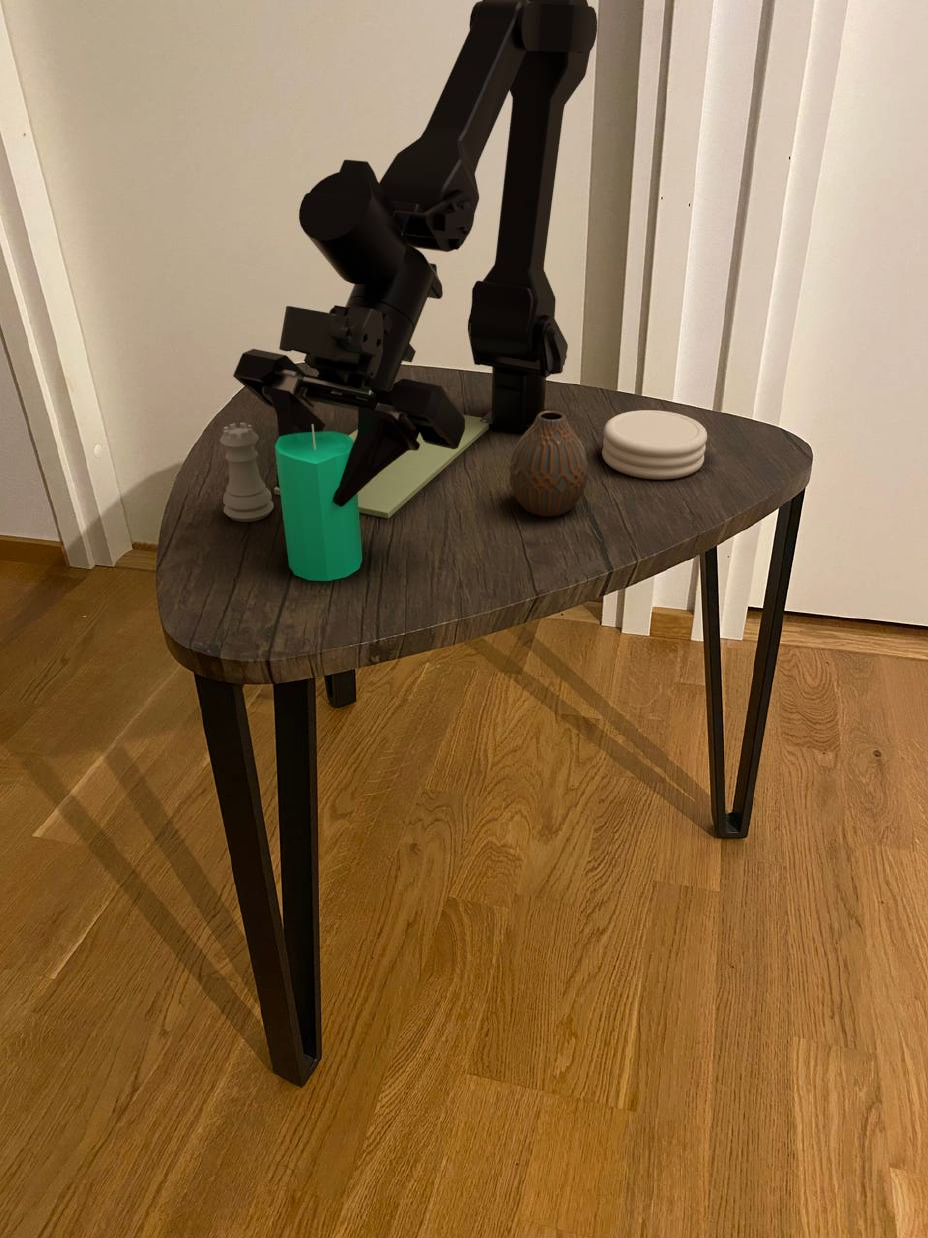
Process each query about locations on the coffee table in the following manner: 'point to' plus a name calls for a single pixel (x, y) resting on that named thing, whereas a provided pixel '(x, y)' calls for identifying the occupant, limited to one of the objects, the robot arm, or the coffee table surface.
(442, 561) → the coffee table surface
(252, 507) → the rook chess piece
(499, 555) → the coffee table surface
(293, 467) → the candle
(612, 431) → the coaster
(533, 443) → the vase
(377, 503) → the pale green rectangular board
